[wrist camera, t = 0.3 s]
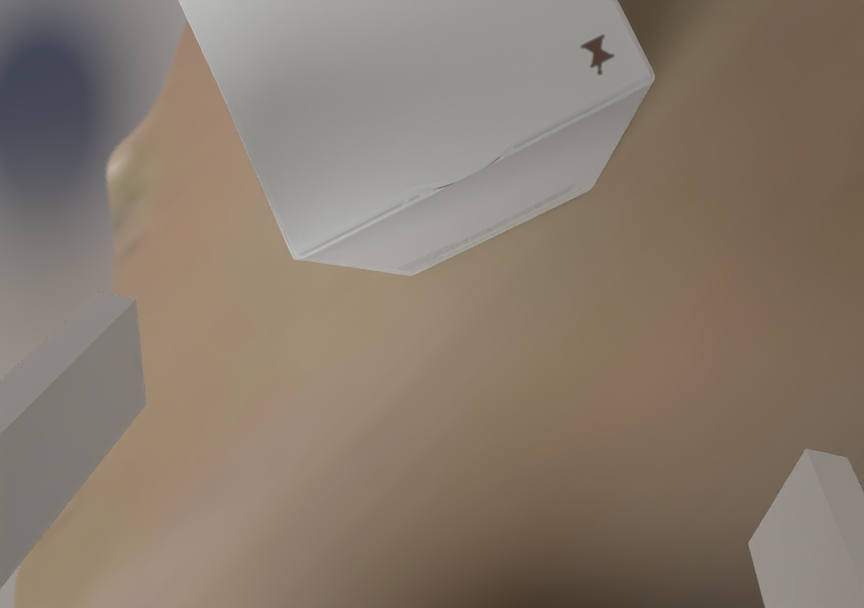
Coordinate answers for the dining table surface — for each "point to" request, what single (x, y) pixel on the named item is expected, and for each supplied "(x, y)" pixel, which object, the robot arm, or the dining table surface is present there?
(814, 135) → the dining table surface
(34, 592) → the dining table surface
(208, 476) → the dining table surface
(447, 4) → the supplement box
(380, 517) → the dining table surface
